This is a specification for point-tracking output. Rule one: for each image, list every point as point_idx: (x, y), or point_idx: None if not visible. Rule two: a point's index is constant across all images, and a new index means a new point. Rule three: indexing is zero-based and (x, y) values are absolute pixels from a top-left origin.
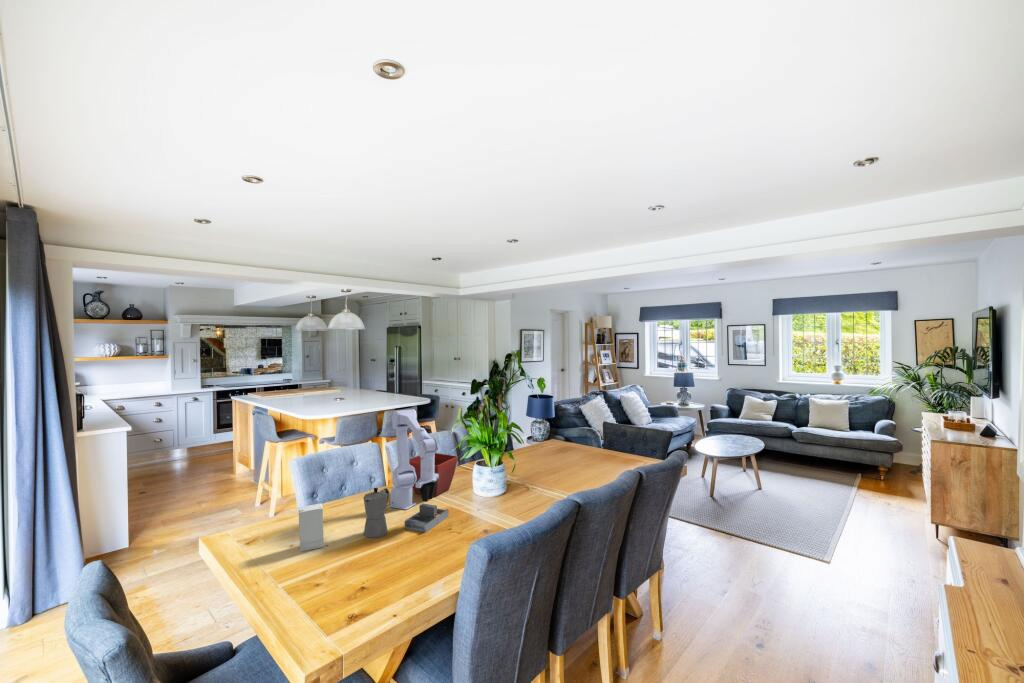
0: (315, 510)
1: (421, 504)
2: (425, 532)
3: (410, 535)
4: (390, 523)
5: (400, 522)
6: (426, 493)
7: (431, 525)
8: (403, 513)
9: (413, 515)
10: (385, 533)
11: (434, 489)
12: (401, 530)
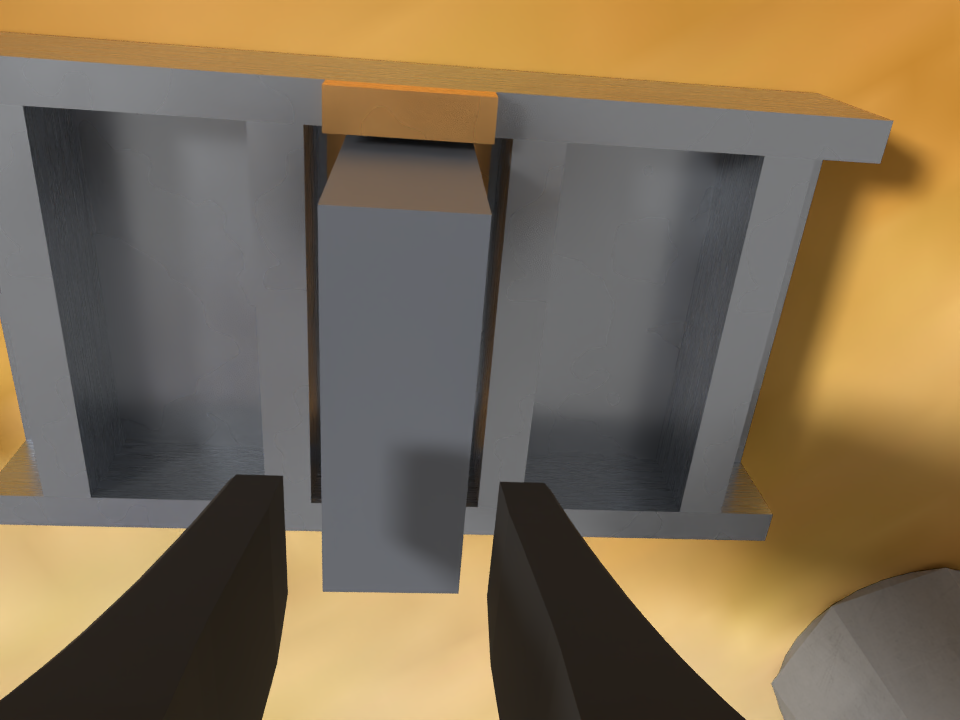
0: None
1: (398, 580)
2: (821, 96)
3: (938, 275)
4: None
5: None
6: (710, 705)
7: (643, 88)
8: None
9: None
10: (954, 575)
11: (38, 674)
12: (782, 470)
